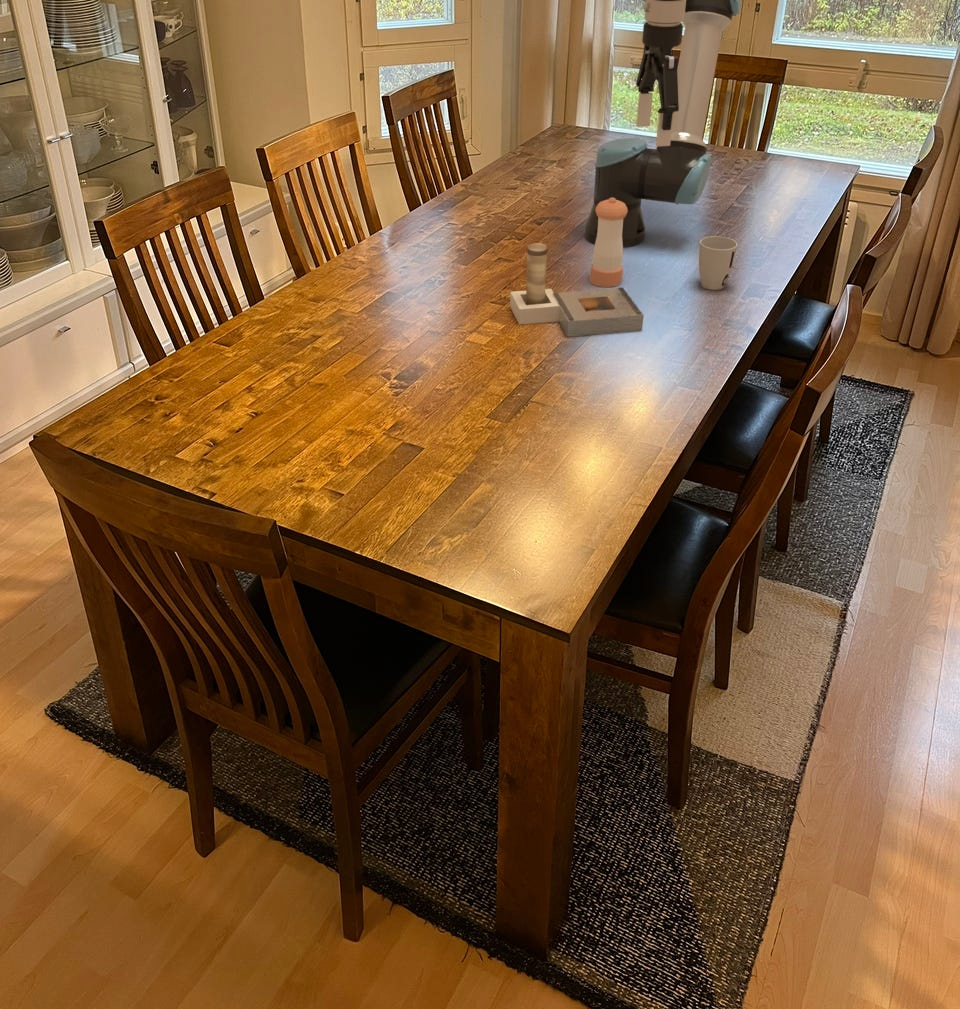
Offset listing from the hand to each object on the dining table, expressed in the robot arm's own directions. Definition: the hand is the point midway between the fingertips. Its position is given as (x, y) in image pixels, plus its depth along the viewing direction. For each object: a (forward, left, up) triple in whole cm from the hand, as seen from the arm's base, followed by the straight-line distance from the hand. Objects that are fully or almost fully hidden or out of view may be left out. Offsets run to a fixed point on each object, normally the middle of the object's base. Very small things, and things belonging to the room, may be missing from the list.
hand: (652, 135), depth 204 cm
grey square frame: (+12, -13, -34) cm, 38 cm away
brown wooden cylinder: (+7, -25, -34) cm, 43 cm away
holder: (+7, -25, -34) cm, 43 cm away
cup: (0, +18, -34) cm, 38 cm away
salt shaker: (-7, -5, -34) cm, 35 cm away
